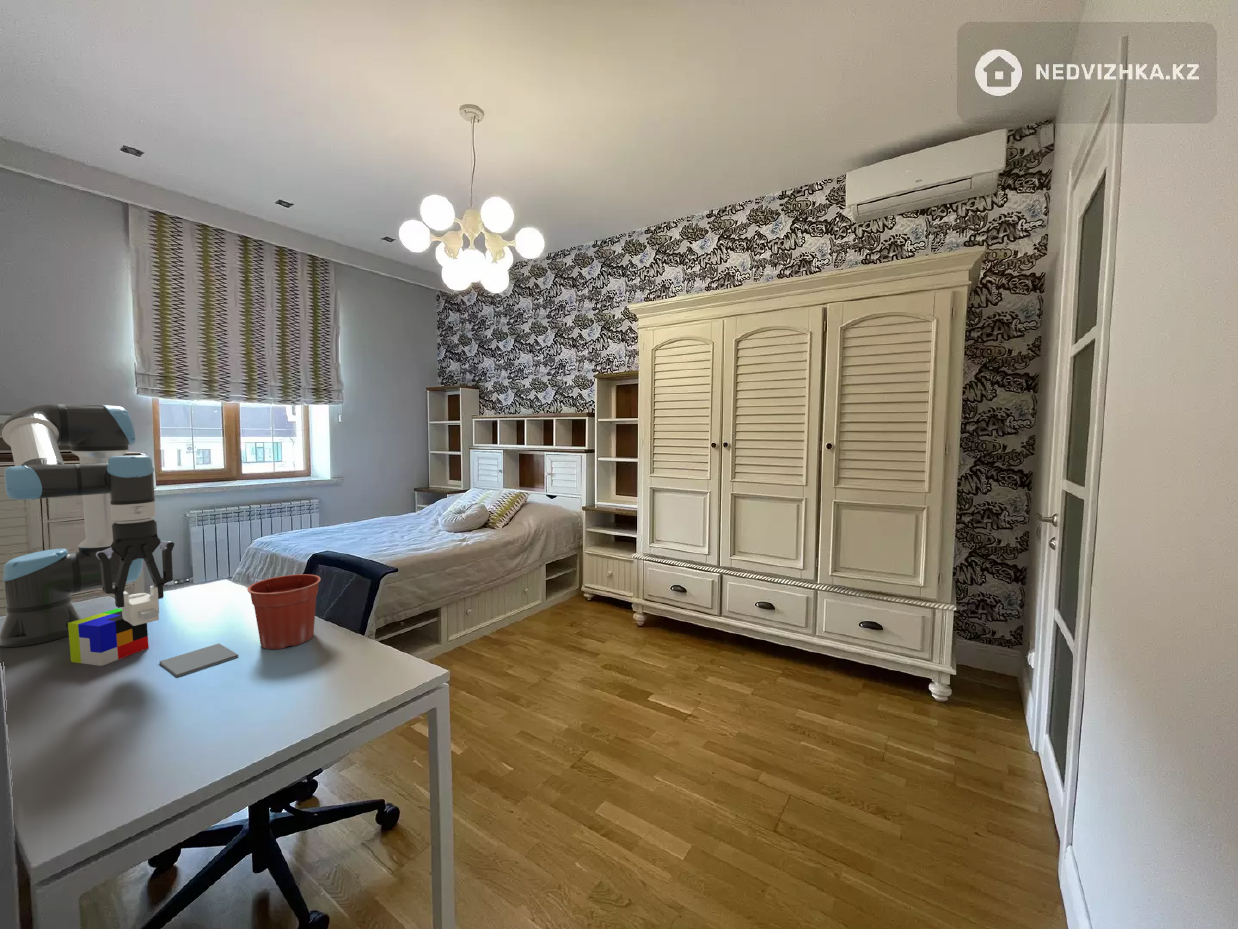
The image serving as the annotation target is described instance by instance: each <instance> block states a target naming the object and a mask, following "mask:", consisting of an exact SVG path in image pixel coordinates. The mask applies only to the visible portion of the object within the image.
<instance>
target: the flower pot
mask: <svg viewBox="0 0 1238 929" xmlns="http://www.w3.org/2000/svg"><path fill="white" fill-rule="evenodd" d="M321 579H322V578H321V577H320V576H318V575H317V574H316V575H315V574H310V573H309V574H306V573H305V574H303V573H300V574H299V573H298V574H288V575H287V574H286V575H281V576H275V577H271V578H266V579H263V580H259V581H258V582H254V583H253V584H251V585H249V586H248V587H247V592H248V594H250V598H251V604H252V605H253V609H254V614H255V618H256V625H257V630H258V636H259V642H260V644H259V645H260V646H261V647H262V648H264V649H267V650H281V649H286V648H287V647H290V646H293V647H296V646H299V645H302V644H304V643H306V642H308V641H309V640H311V639H312V638H313V637H314V635H315V622H316V621H315V620H316V605H317V604H316V603H317V595H318V593H319V583H320V582H321Z"/></svg>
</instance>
